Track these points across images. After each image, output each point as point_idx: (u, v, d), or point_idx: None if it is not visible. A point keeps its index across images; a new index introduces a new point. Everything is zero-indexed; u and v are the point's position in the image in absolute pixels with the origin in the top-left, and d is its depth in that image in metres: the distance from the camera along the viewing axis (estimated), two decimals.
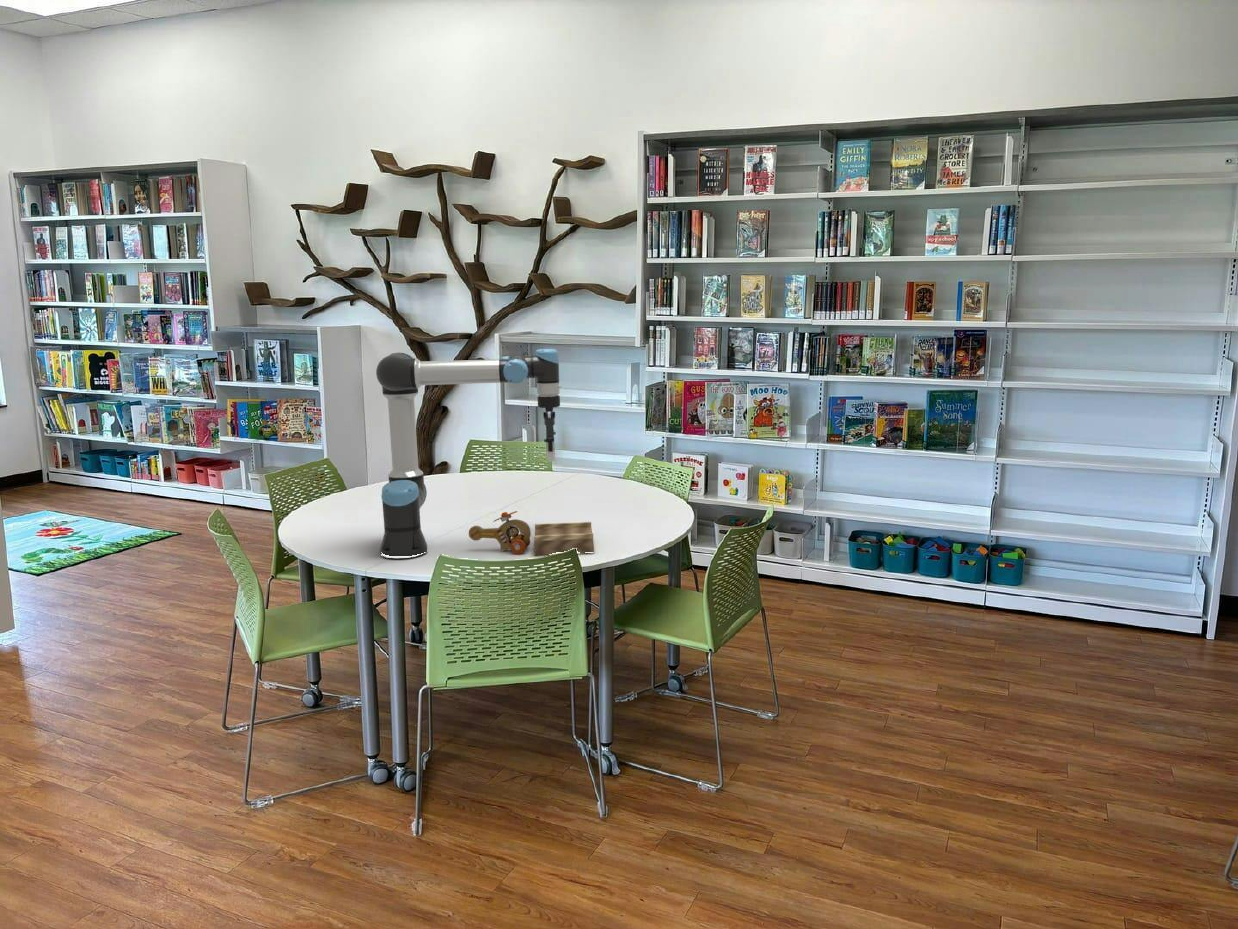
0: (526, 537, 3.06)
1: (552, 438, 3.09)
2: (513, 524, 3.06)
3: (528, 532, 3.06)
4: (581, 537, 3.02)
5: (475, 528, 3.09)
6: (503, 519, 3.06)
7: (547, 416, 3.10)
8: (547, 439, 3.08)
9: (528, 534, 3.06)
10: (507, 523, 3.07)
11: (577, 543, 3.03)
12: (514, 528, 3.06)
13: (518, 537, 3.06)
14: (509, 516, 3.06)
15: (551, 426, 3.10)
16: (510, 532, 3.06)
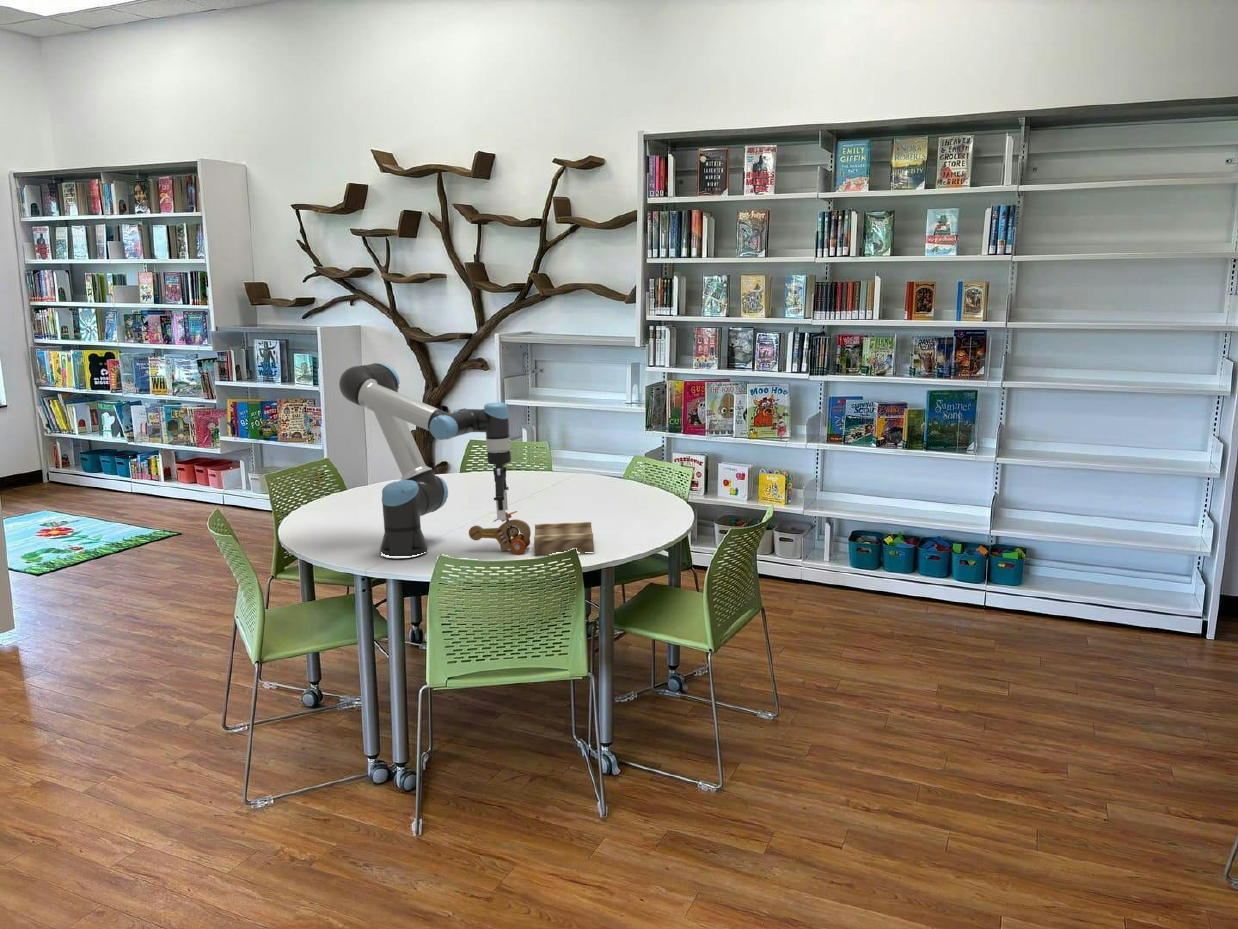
0: (526, 537, 3.06)
1: (502, 497, 2.96)
2: (513, 524, 3.06)
3: (528, 532, 3.06)
4: (581, 537, 3.02)
5: (476, 528, 3.09)
6: None
7: (496, 473, 2.98)
8: (496, 498, 2.96)
9: (528, 534, 3.06)
10: (507, 523, 3.07)
11: (577, 543, 3.03)
12: (514, 528, 3.06)
13: (518, 537, 3.06)
14: (509, 516, 3.06)
15: (501, 484, 2.97)
16: (510, 532, 3.06)
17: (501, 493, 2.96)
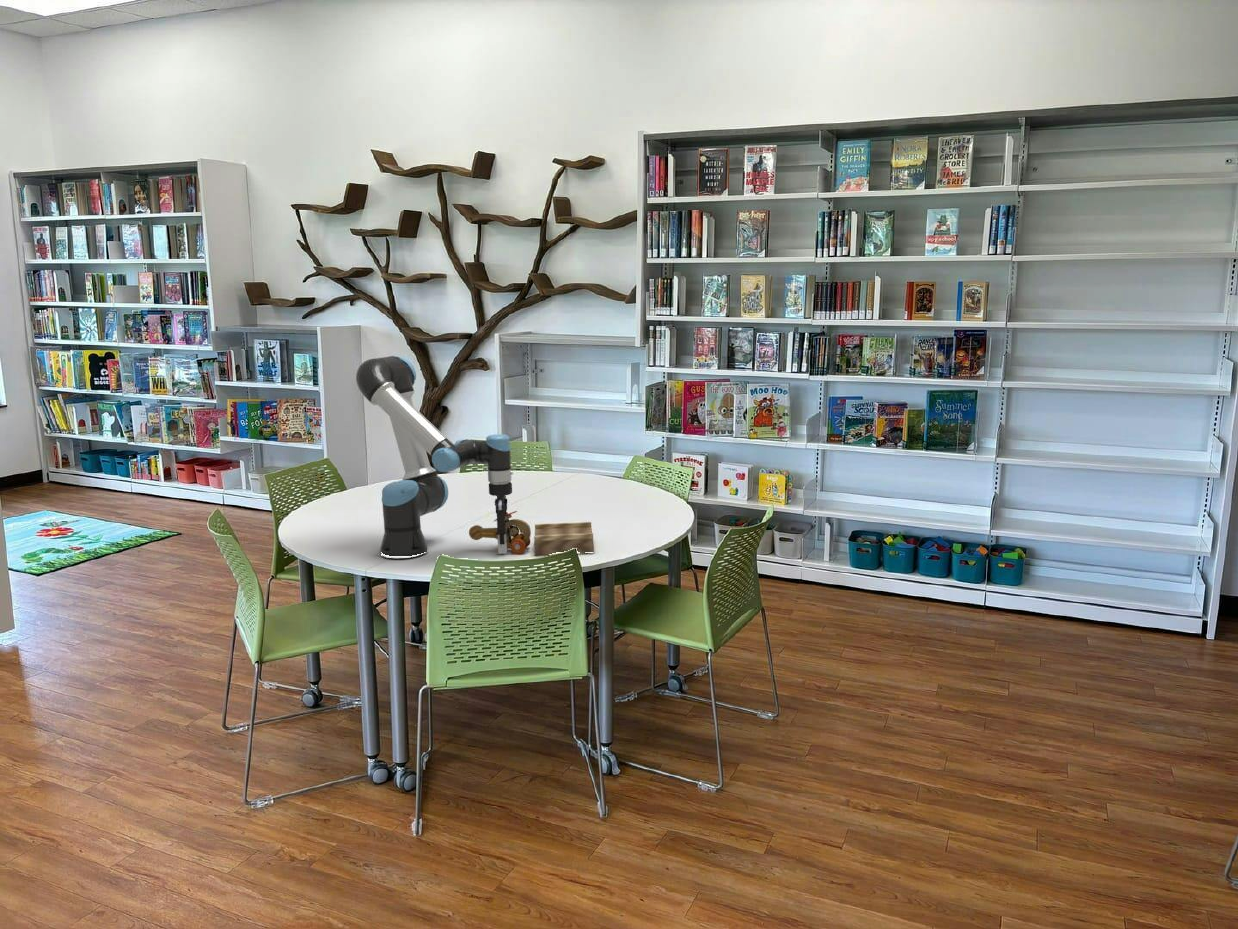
0: (526, 537, 3.07)
1: (503, 532, 3.01)
2: (513, 524, 3.07)
3: (528, 532, 3.06)
4: (581, 537, 3.02)
5: (476, 527, 3.09)
6: None
7: (498, 509, 3.00)
8: (498, 533, 3.01)
9: (528, 534, 3.06)
10: (507, 523, 3.07)
11: (577, 543, 3.03)
12: (514, 528, 3.07)
13: (518, 537, 3.06)
14: (509, 516, 3.07)
15: (502, 519, 3.00)
16: (510, 532, 3.06)
17: (503, 528, 3.00)
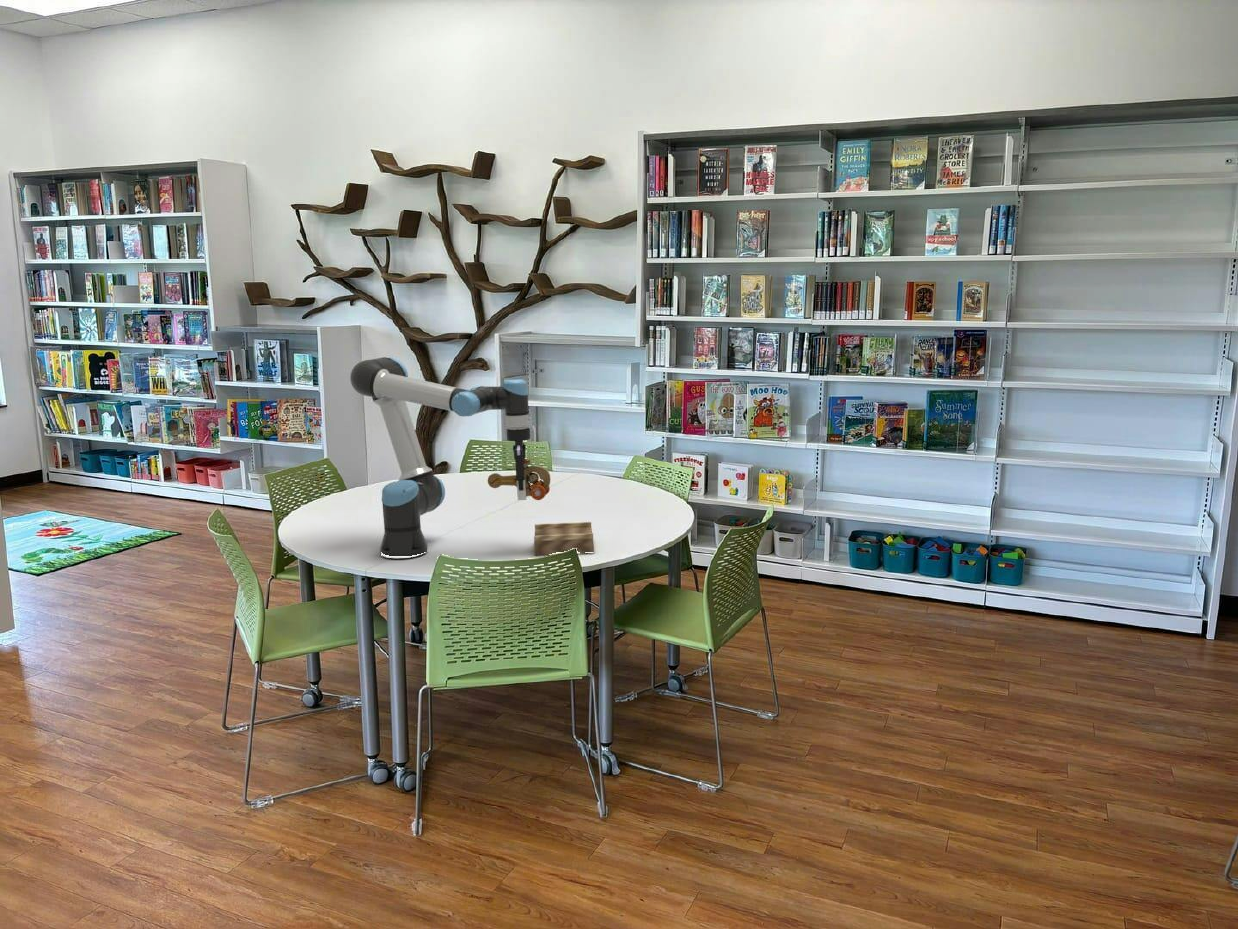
0: (546, 483, 3.04)
1: (522, 477, 2.98)
2: (533, 470, 3.04)
3: (548, 478, 3.04)
4: (581, 537, 3.02)
5: (495, 475, 3.06)
6: None
7: (516, 454, 2.97)
8: (517, 478, 2.98)
9: (548, 480, 3.04)
10: (527, 469, 3.04)
11: (577, 543, 3.03)
12: (534, 474, 3.04)
13: (538, 483, 3.03)
14: (528, 462, 3.04)
15: (521, 464, 2.98)
16: (530, 478, 3.04)
17: (521, 474, 2.98)
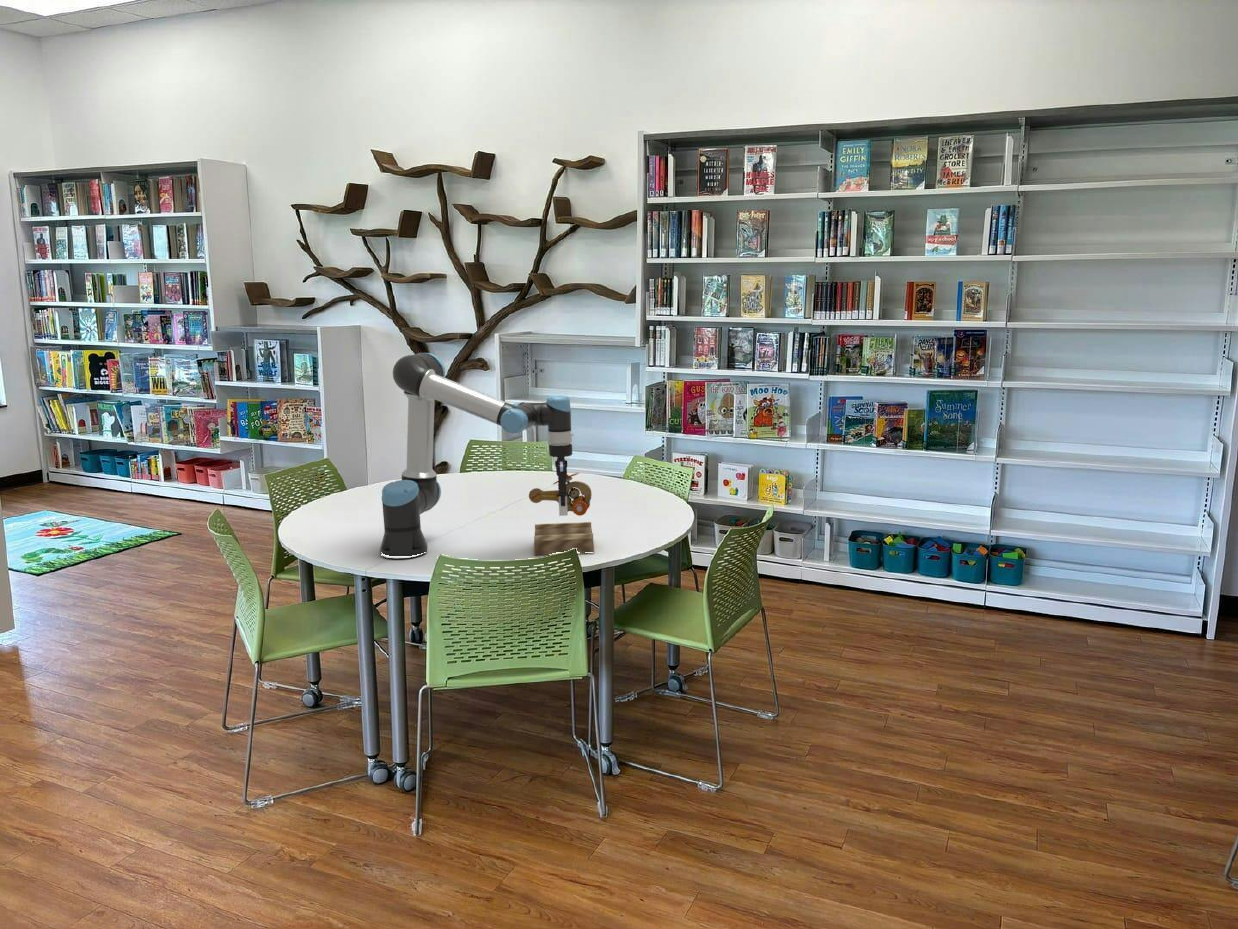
0: (587, 499, 3.06)
1: (565, 493, 3.00)
2: (574, 486, 3.06)
3: (589, 494, 3.06)
4: (581, 537, 3.02)
5: (536, 490, 3.08)
6: None
7: (559, 470, 2.99)
8: (560, 494, 3.00)
9: (589, 496, 3.06)
10: (568, 485, 3.06)
11: (577, 543, 3.03)
12: (575, 490, 3.06)
13: (579, 499, 3.06)
14: (570, 478, 3.06)
15: (564, 480, 3.00)
16: (571, 494, 3.06)
17: (564, 490, 3.00)
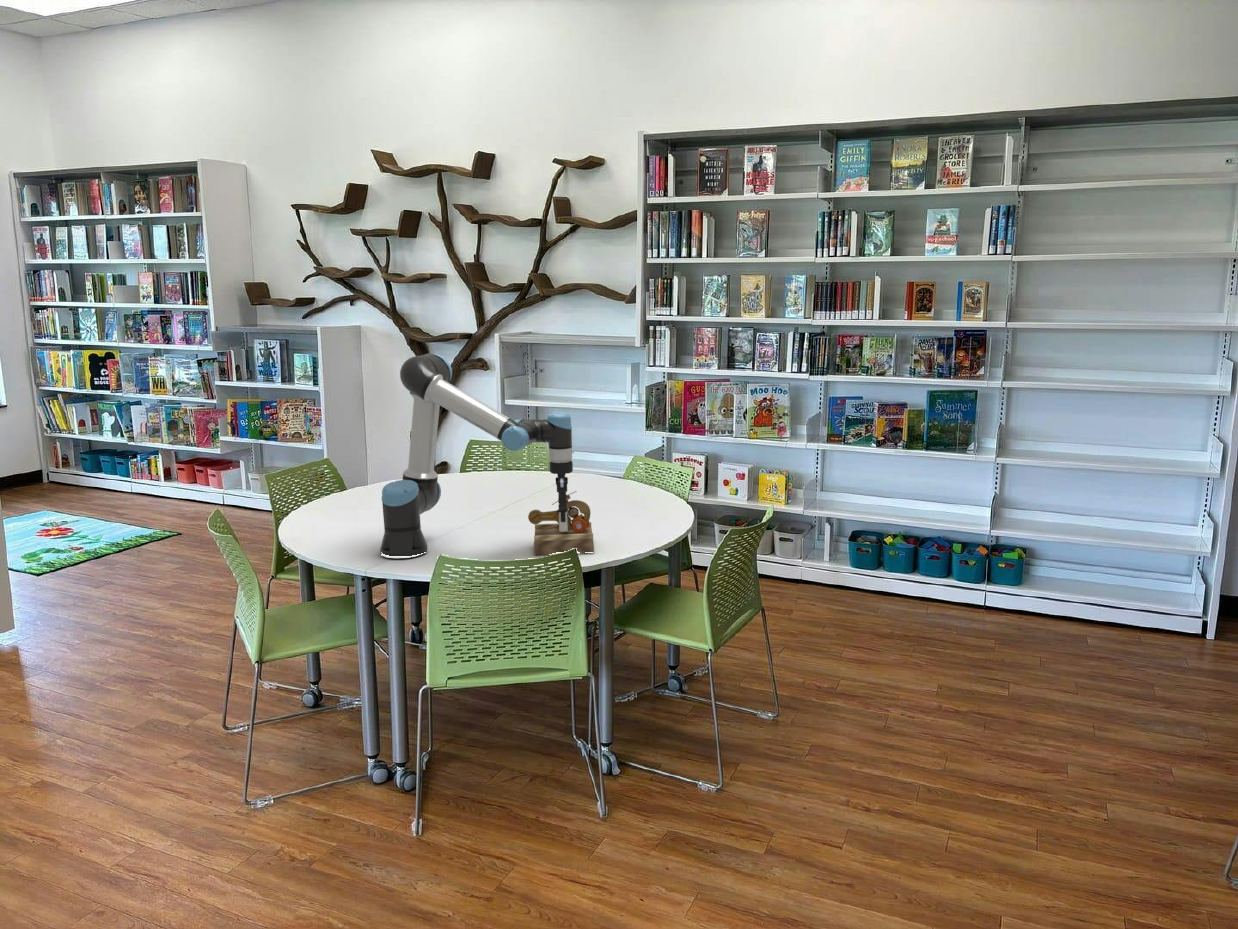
0: (586, 517, 3.08)
1: (565, 509, 3.00)
2: (573, 504, 3.08)
3: (588, 511, 3.08)
4: (581, 537, 3.02)
5: (535, 511, 3.10)
6: None
7: (560, 486, 3.00)
8: (560, 510, 3.00)
9: (588, 513, 3.08)
10: (567, 504, 3.09)
11: (577, 543, 3.03)
12: (574, 508, 3.08)
13: (579, 517, 3.07)
14: (568, 497, 3.09)
15: (564, 496, 3.00)
16: (570, 512, 3.08)
17: (564, 506, 3.00)
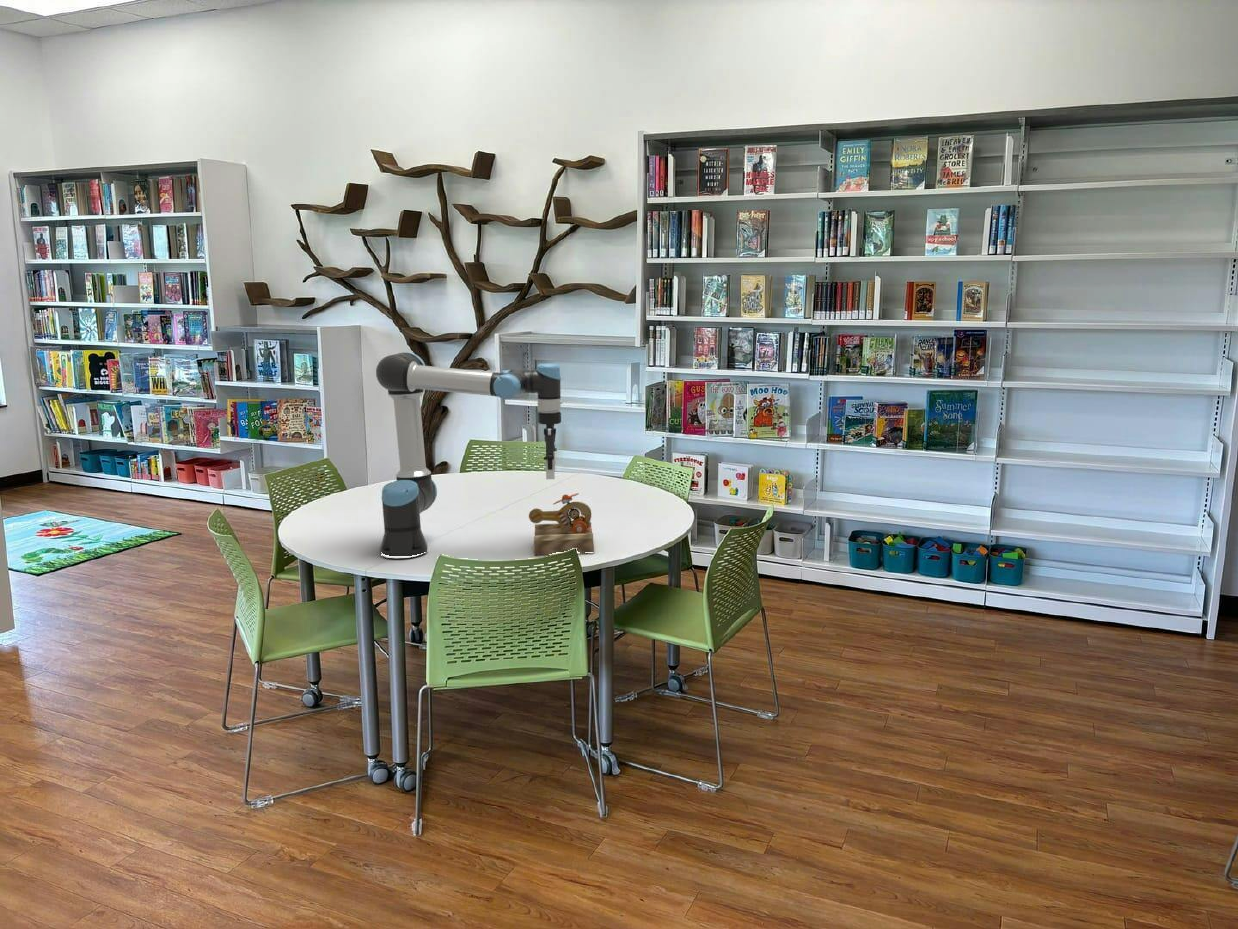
0: (587, 519, 3.08)
1: (552, 456, 3.00)
2: (574, 506, 3.07)
3: (589, 514, 3.07)
4: (581, 537, 3.02)
5: (536, 511, 3.09)
6: (564, 501, 3.07)
7: (547, 433, 3.01)
8: (547, 457, 2.99)
9: (589, 516, 3.07)
10: (568, 505, 3.08)
11: (577, 543, 3.03)
12: (575, 510, 3.07)
13: (579, 519, 3.07)
14: (570, 498, 3.07)
15: (551, 444, 3.01)
16: (571, 514, 3.07)
17: (551, 452, 3.00)
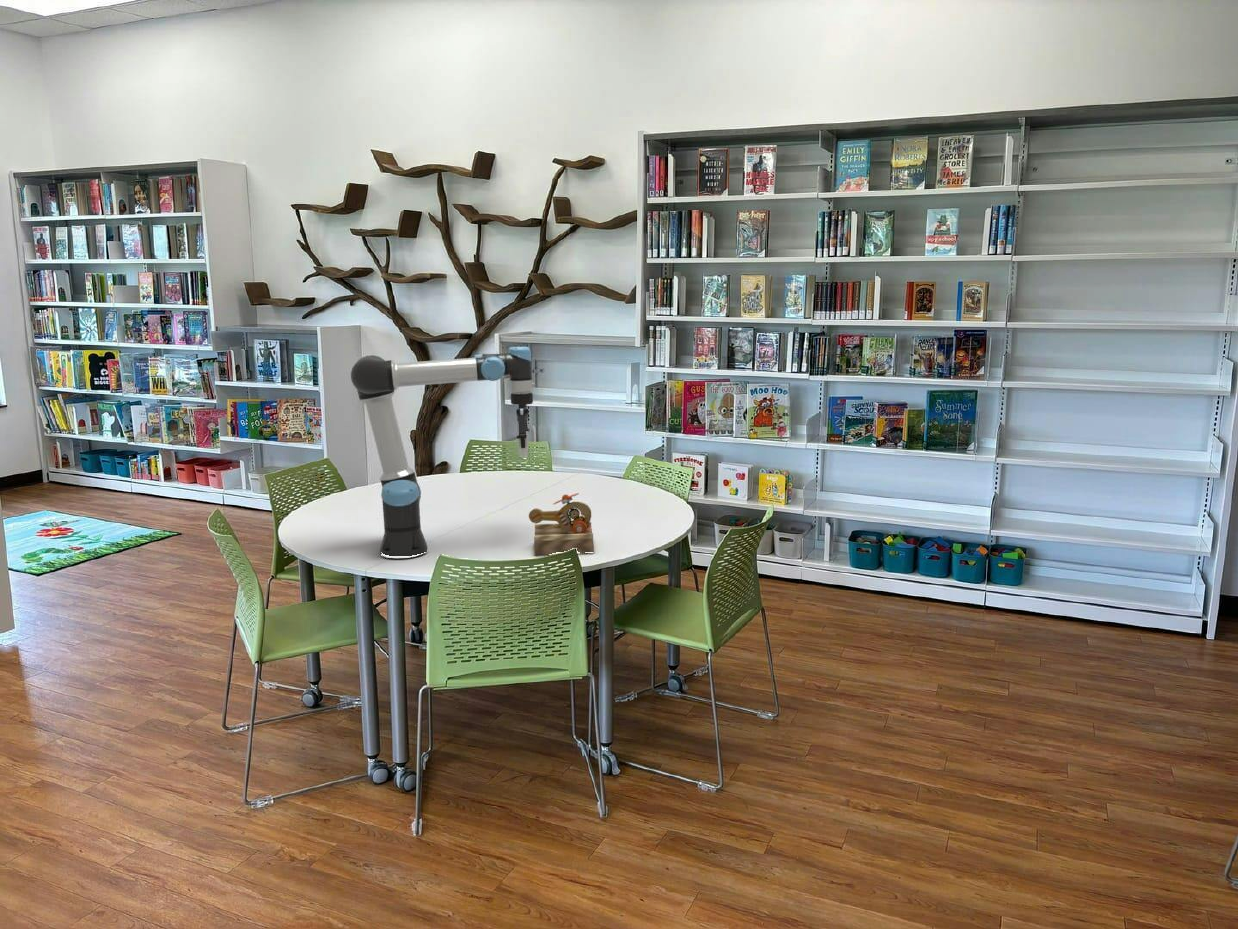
0: (587, 519, 3.08)
1: (524, 435, 3.12)
2: (574, 506, 3.07)
3: (589, 514, 3.07)
4: (581, 537, 3.02)
5: (536, 511, 3.09)
6: (564, 501, 3.07)
7: (520, 413, 3.14)
8: (519, 436, 3.12)
9: (589, 516, 3.07)
10: (568, 505, 3.08)
11: (577, 543, 3.03)
12: (575, 510, 3.07)
13: (579, 519, 3.07)
14: (570, 498, 3.07)
15: (523, 423, 3.13)
16: (571, 514, 3.07)
17: (524, 431, 3.13)
